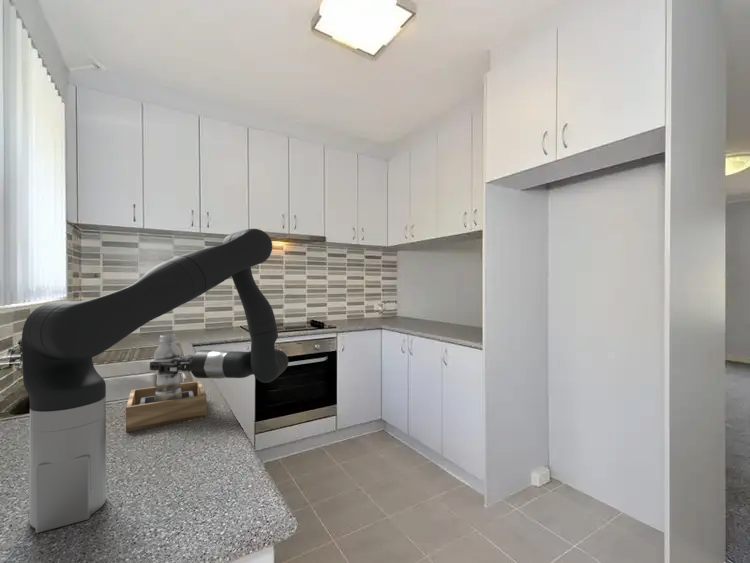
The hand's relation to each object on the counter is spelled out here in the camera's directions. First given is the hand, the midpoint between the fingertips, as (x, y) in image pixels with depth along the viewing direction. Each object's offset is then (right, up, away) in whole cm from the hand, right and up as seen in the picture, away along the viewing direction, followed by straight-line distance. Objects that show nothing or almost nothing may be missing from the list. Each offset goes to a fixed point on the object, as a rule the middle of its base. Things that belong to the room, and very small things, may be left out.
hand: (160, 363), depth 101 cm
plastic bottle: (+3, -12, 0) cm, 12 cm away
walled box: (+2, -14, -1) cm, 14 cm away
